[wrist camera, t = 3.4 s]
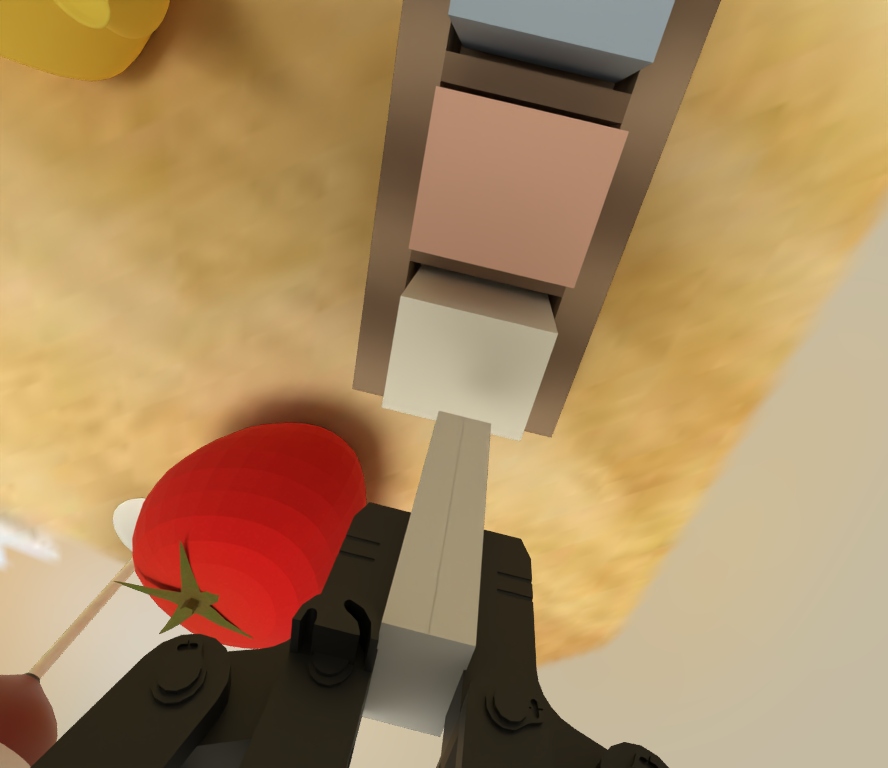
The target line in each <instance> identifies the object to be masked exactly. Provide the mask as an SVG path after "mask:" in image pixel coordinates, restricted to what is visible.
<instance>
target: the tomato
mask: <svg viewBox="0 0 888 768" xmlns="http://www.w3.org/2000/svg"><path fill="white" fill-rule="evenodd" d="M365 506H366V489H365V482H364V476H363V472H362V468H361V465H360V463H359V460H358V458H357V456H356V454H355V452H354V451H353V450H352V449H351V448H350V446H349V445H348V444H347V443H346V442H345V441H344V440H343V439H341V438H340V437H339V436H337V435H336V434H335V433H333V432H331V431H329V430H327V429H324V428H322V427H320V426H315V425H310V424H304V423H275V424H263V425H258V426H253V427H248V428H245V429H243V430H240V431H237V432H235V433H232V434H230V435H227V436H224V437H222V438H219V439H217V440H215V441H213V442H211V443H209V444H207V445H205V446H203V447H201V448H200V449H198V450H197V451H195V452H193V453H192V454H190V455H189V456H187V457H185V458H184V459H183V460H181V461H180V462H179V463H177V464H176V465H175V466H173V467H172V468H171V469H169V470H168V471H167V472H166V474H165V475H164V476H163V477H162V478H161V479H160V480H159V481H158V483H157V484H156V485H155V486H154V488H153V489H152V491H151V492H150V494H149V495H148V496H147V498H146V499H145V501H144V502H143V505H142V508H141V511H140V514H139V516H138V519H137V522H136V526H135V529H134V533H133V537H132V550H133V562H134V567H135V572H136V574H137V576H138V577H139V579H140V580H141V582H142V584H143V586H139V585H134V584H129V583H124V582H119V581H114V582H116V583H119V584H122V585H125V586H127V587H130V588H133V589H135V590H138V591H141V592H144V593H146V594H149V595H150V597H151V598H152V599H153V600H154V601H155V602H156V604H157V605H158V606H159V607H160V608H161V609H162V610H163V611H165V612H166V613H167V614H168V615H169V616H170V617H171V619H170V620H169V621H168V623H167V624H166V626H165V627H164V628H163V629H162V630H161V632H160V633H159V634H161V633H163V632H166V631H168V630H170V629H172V628H174V627H175V626H177V625H179V624H180V625H182V626H183V627H185V628H186V629H188V630H189V631H190V632H192V633H194V634H203V635H206V636H210V637H213V638H216V639H217V640H218V641H219V642H220V643H221V644H223V645H228V646H233V647H240V648H250V649H262V648H267V647H272V646H276V645H278V644H280V643H283V642H285V641H287V640H289V639H290V638H291V627H292V618H293V617H294V615H295V614H296V613H297V611H298V610H299V608H300V607H301V606H302V604H304V603H305V602H307V601H308V600H310V599H311V598H313V597H314V596H316V595H318V594H321V593H322V590H323V588H324V586H325V583H326V581H327V579H328V576H329V574H330V571H331V569H332V567H333V564H334V562H335V560H336V557H337V555H338V554H339V550H340V548H341V545H342V543H343V541H344V538H345V537H346V534H347V531H348V529H349V527H350V524H351V522H352V520H353V517H354V516H355V515H356V514H357V513H358V512H359V511H360V510H361V509H363V508H364V507H365Z"/></svg>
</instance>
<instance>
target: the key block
mask: <svg viewBox="0 0 888 768" xmlns="http://www.w3.org/2000/svg"><path fill="white" fill-rule="evenodd" d="M450 1H451V0H403V6H402V14H401V22H400V29H399V37H398V45H397V52H396V60H395V68H394V75H393V83H392V91H391V98H390V106H389V113H388V121H387V129H386V136H385V144H384V152H383V159H382V167H381V175H380V182H379V190H378V197H377V205H376V213H375V220H374V228H373V236H372V243H371V251H370V259H369V266H368V274H367V282H366V289H365V297H364V304H363V312H362V320H361V327H360V335H359V343H358V350H357V358H356V366H355V373H354V381H353V389H355V390H359V391H363V392H367V393H371V394H375V395H379V396H384V391H385V385H386V379H387V373H388V367H389V361H390V355H391V349H392V344H393V338H394V332H395V326H396V320H397V314H398V308H399V302H400V296H401V294H402V293H403V292H404V290H405V289H406V287H407V286H408V284H409V283H410V282H411V280H412V279H413V277H414V276H415V274H416V273H417V272H418V270H419V269H420V267H421V266H422V264H425V265H429V266H433V267H438V268H442V269H446V270H450V271H454V272H458V273H463V274H467V275H471V276H475V277H479V278H483V279H487V280H492V281H496V282H500V283H504V284H508V285H512V286H517V287H521V288H525V289H529V290H533V291H537V292H541V293H546V294H548V298H549V301H550V305H551V309H552V313H553V317H554V320H555V324H556V328H557V332H558V335H557V338H556V341H555V344H554V347H553V350H552V353H551V355H550V358H549V361H548V364H547V367H546V370H545V373H544V375H543V378H542V381H541V384H540V387H539V390H538V392H537V395H536V398H535V401H534V404H533V407H532V410H531V412H530V415H529V418H528V421H527V424H526V427H525V430H524V431H527V432H531V433H535V434H539V435H543V436H548V437H552V434H553V432H554V429H555V427H556V424H557V422H558V419H559V416H560V414H561V411H562V409H563V406H564V403H565V401H566V398H567V396H568V393H569V391H570V388H571V385H572V383H573V380H574V378H575V375H576V373H577V370H578V367H579V365H580V362H581V360H582V357H583V354H584V352H585V349H586V347H587V344H588V342H589V339H590V336H591V334H592V331H593V329H594V326H595V324H596V321H597V318H598V316H599V313H600V311H601V308H602V305H603V303H604V300H605V298H606V295H607V293H608V290H609V287H610V285H611V282H612V280H613V277H614V275H615V272H616V269H617V267H618V264H619V262H620V259H621V256H622V254H623V251H624V249H625V246H626V244H627V241H628V238H629V236H630V233H631V231H632V228H633V226H634V223H635V220H636V218H637V215H638V213H639V210H640V207H641V205H642V202H643V200H644V197H645V195H646V192H647V189H648V187H649V184H650V182H651V179H652V177H653V174H654V171H655V169H656V166H657V164H658V161H659V159H660V156H661V153H662V151H663V148H664V146H665V143H666V140H667V138H668V135H669V133H670V130H671V128H672V125H673V122H674V120H675V117H676V115H677V112H678V110H679V107H680V104H681V102H682V99H683V97H684V94H685V91H686V89H687V86H688V84H689V81H690V79H691V76H692V73H693V71H694V68H695V66H696V63H697V61H698V58H699V55H700V53H701V50H702V48H703V45H704V42H705V40H706V37H707V35H708V32H709V30H710V27H711V24H712V22H713V19H714V17H715V14H716V12H717V9H718V6H719V4H720V1H721V0H675V2H674V5H673V8H672V10H671V13H670V16H669V19H668V22H667V25H666V28H665V30H664V33H663V36H662V39H661V42H660V45H659V48H658V50H657V53H656V56H655V59H654V62H653V63H652V64H650V65H648V66H646V67H644V68H643V69H641V70H639V71H637V72H635V73H634V74H632V75H630V76H628V77H626V78H624V79H623V80H621V81H619V82H617V83H613V82H609V81H605V80H600V79H596V78H592V77H588V76H583V75H579V74H575V73H571V72H566V71H562V70H558V69H554V68H549V67H545V66H541V65H537V64H532V63H528V62H524V61H520V60H515V59H511V58H507V57H503V56H498V55H494V54H490V53H486V52H482V51H477V50H473V49H469V48H465V47H463V46H462V43H461V41H460V39H459V37H458V35H457V33H456V30H455V28H454V26H453V24H452V22H451V20H450V17H449V15H448V12H449V6H450ZM436 86H439V87H443V88H447V89H451V90H456V91H460V92H464V93H468V94H473V95H477V96H481V97H485V98H490V99H494V100H498V101H502V102H506V103H511V104H515V105H519V106H523V107H528V108H532V109H536V110H540V111H544V112H549V113H553V114H557V115H561V116H566V117H570V118H574V119H578V120H582V121H587V122H591V123H595V124H599V125H604V126H608V127H612V128H616V129H620V130H625V131H629V133H628V136H627V139H626V142H625V144H624V147H623V150H622V153H621V156H620V159H619V162H618V164H617V167H616V170H615V173H614V176H613V179H612V182H611V184H610V187H609V190H608V193H607V196H606V199H605V201H604V204H603V207H602V210H601V213H600V216H599V219H598V221H597V224H596V227H595V230H594V233H593V236H592V239H591V241H590V244H589V247H588V250H587V253H586V256H585V259H584V261H583V264H582V267H581V270H580V273H579V276H578V278H577V281H576V284H575V287H574V288H570V287H566V286H562V285H558V284H553V283H549V282H545V281H541V280H537V279H533V278H528V277H524V276H520V275H516V274H512V273H508V272H503V271H499V270H495V269H491V268H487V267H483V266H478V265H474V264H470V263H466V262H462V261H458V260H454V259H449V258H445V257H441V256H437V255H433V254H429V253H424V252H420V251H416V250H412V249H409V243H410V237H411V231H412V225H413V219H414V213H415V207H416V202H417V196H418V190H419V184H420V178H421V172H422V166H423V160H424V154H425V148H426V142H427V137H428V131H429V125H430V119H431V113H432V107H433V101H434V95H435V89H436Z"/></svg>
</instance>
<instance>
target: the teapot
mask: <svg viewBox="0 0 888 768" xmlns="http://www.w3.org/2000/svg"><path fill="white" fill-rule="evenodd" d="M169 3H170V0H0V56H2V57H4V58H7V59H10V60H13V61H15V62H18V63H21V64H24V65H27V66H30V67H33V68H35V69H38V70H41V71H45V72H48V73H51V74H55V75H58V76H62V77H68V78H74V79H80V80H87V81H97V80H103V79H108V78H112V77H114V76H116V75H118V74H120V73H122V72H123V71H124V70H125V69H126V68H127V67H128V66H129V65H130V64H131V63H132V62H133V61H134V60H135V59H136V58H137V57H138V56H139V54H140V53H141V51H142V49H143V48H144V46H145V44H146V43H147V41H148V39H149V38H150V36H151V34H152V32H153V31H155V30H156V29H157V28H158V26H159V25H160V24H161V22H162V21H163V19H164V17H165V14H166V12H167V10H168V7H169Z"/></svg>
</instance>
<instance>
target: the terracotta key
mask: <svg viewBox="0 0 888 768" xmlns="http://www.w3.org/2000/svg"><path fill="white" fill-rule="evenodd" d="M628 133H629V131H625V130H620V129H616V128H612V127H608V126H604V125H599V124H595V123H591V122H587V121H582V120H578V119H574V118H570V117H566V116H561V115H557V114H553V113H549V112H544V111H540V110H536V109H532V108H528V107H523V106H519V105H515V104H511V103H506V102H502V101H498V100H494V99H490V98H485V97H481V96H477V95H473V94H468V93H464V92H460V91H456V90H451V89H447V88H443V87H439V86H436V89H435V95H434V101H433V107H432V113H431V119H430V125H429V131H428V137H427V142H426V148H425V154H424V160H423V166H422V172H421V178H420V184H419V190H418V196H417V202H416V207H415V213H414V219H413V225H412V231H411V237H410V243H409V249H412V250H416V251H420V252H424V253H429V254H433V255H437V256H441V257H445V258H449V259H454V260H458V261H462V262H466V263H470V264H474V265H478V266H483V267H487V268H491V269H495V270H499V271H503V272H508V273H512V274H516V275H520V276H524V277H528V278H533V279H537V280H541V281H545V282H549V283H553V284H558V285H562V286H566V287H570V288H574V287H575V284H576V281H577V278H578V276H579V273H580V270H581V267H582V264H583V261H584V259H585V256H586V253H587V250H588V247H589V244H590V241H591V239H592V236H593V233H594V230H595V227H596V224H597V221H598V219H599V216H600V213H601V210H602V207H603V204H604V201H605V199H606V196H607V193H608V190H609V187H610V184H611V182H612V179H613V176H614V173H615V170H616V167H617V164H618V162H619V159H620V156H621V153H622V150H623V147H624V144H625V142H626V139H627V136H628Z"/></svg>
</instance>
